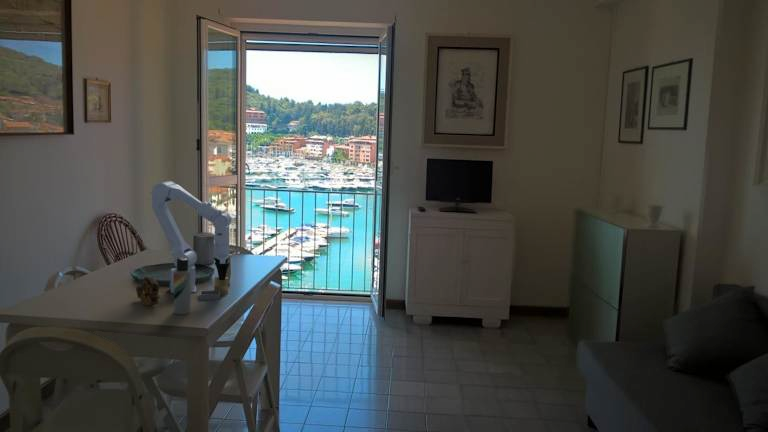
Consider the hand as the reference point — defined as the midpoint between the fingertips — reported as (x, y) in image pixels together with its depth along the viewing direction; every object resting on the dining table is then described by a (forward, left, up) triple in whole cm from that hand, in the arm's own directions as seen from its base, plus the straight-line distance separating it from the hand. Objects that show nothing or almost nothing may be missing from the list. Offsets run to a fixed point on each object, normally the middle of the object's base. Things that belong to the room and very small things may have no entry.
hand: (221, 277), depth 243 cm
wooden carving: (-27, -13, -7) cm, 30 cm away
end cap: (-5, -6, -6) cm, 10 cm away
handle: (+2, +12, -6) cm, 14 cm away
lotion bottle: (-15, -24, -6) cm, 29 cm away
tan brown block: (0, 0, -6) cm, 6 cm away
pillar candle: (-6, +52, -7) cm, 53 cm away
